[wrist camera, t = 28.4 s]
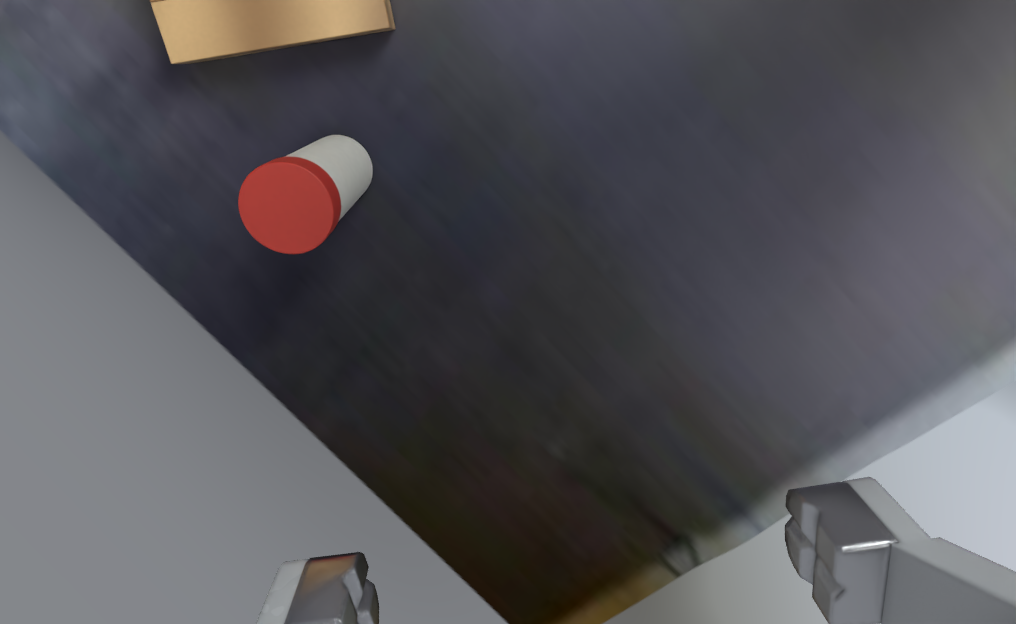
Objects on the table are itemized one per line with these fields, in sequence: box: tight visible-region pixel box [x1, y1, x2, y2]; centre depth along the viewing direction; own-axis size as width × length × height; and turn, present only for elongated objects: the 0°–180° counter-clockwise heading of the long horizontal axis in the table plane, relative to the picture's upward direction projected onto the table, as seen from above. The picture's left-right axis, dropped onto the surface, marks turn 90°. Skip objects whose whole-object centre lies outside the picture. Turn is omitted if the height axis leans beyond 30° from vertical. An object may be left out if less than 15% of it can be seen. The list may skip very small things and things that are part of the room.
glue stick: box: [238, 135, 373, 254], centre depth 32 cm, size 4×4×11 cm
